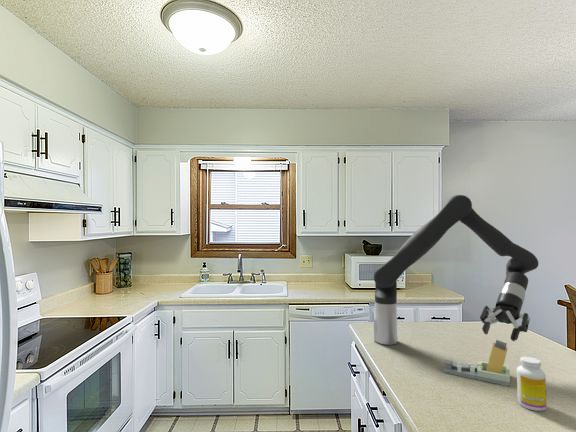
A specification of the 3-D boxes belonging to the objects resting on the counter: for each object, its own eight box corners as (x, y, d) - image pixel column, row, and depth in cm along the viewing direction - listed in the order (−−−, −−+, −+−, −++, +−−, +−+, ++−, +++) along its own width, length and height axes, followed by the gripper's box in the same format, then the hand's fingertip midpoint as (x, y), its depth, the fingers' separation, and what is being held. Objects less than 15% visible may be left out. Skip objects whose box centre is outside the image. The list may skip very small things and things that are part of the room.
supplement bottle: (551, 413, 90) (550, 365, 91) (524, 410, 92) (523, 363, 92) (538, 400, 97) (537, 355, 97) (513, 398, 98) (512, 354, 98)
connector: (486, 371, 111) (493, 342, 110) (487, 367, 114) (494, 338, 113) (500, 377, 109) (508, 347, 108) (500, 372, 112) (508, 343, 111)
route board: (443, 372, 116) (443, 363, 116) (447, 363, 123) (447, 354, 123) (510, 386, 105) (509, 376, 105) (509, 375, 113) (509, 365, 113)
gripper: (486, 288, 126) (473, 325, 119) (531, 295, 114) (519, 335, 107) (493, 300, 129) (480, 337, 122) (537, 308, 117) (525, 348, 110)
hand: (498, 336), depth 114 cm, fingers open, 8 cm apart
